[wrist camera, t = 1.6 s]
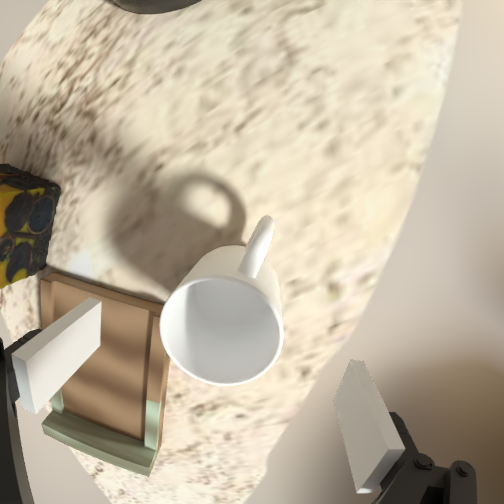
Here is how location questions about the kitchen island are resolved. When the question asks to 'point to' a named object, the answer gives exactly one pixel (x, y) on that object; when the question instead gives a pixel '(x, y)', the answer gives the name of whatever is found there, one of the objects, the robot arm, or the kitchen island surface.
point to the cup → (226, 314)
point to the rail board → (111, 378)
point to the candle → (24, 223)
